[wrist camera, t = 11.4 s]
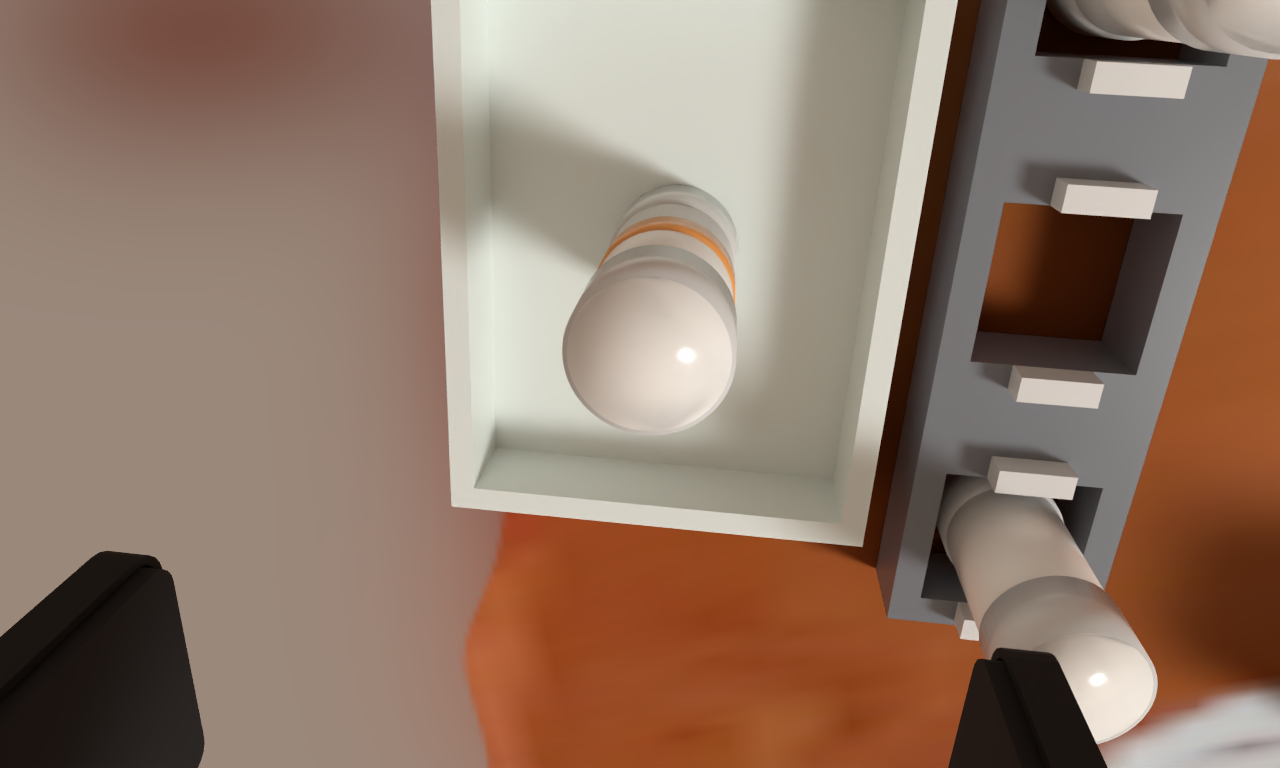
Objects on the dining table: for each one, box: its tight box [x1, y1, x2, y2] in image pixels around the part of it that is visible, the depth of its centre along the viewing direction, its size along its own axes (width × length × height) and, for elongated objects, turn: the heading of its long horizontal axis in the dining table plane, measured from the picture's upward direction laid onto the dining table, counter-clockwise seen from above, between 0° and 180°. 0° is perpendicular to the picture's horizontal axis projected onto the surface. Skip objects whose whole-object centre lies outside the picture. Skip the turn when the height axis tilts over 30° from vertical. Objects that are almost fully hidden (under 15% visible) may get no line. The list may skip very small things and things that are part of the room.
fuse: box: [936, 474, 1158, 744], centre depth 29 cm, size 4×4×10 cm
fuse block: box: [876, 0, 1268, 641], centre depth 28 cm, size 25×7×4 cm, turn 177°
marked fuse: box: [562, 184, 738, 435], centre depth 25 cm, size 4×4×10 cm
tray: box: [431, 0, 958, 547], centre depth 29 cm, size 18×14×4 cm
